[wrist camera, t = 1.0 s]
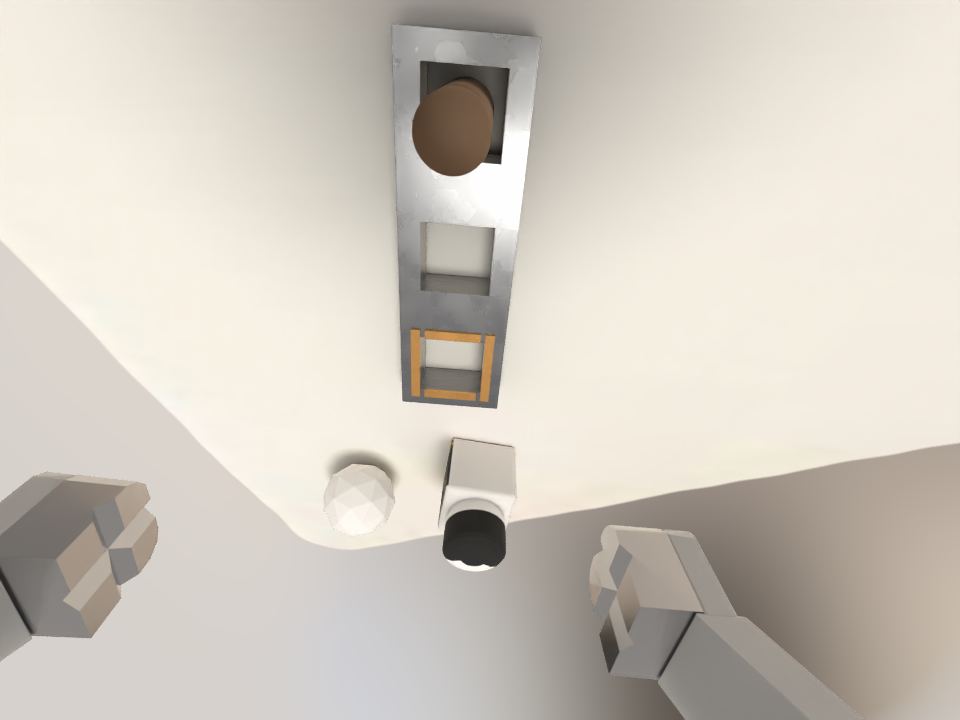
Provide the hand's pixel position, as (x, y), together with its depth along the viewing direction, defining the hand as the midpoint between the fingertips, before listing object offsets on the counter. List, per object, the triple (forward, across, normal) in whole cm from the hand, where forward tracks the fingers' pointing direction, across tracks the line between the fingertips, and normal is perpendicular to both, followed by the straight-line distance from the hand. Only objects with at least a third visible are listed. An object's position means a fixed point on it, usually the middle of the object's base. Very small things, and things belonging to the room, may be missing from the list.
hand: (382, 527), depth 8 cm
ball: (+36, +7, +32) cm, 49 cm away
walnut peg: (+31, 0, -7) cm, 32 cm away
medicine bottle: (+35, -6, +28) cm, 46 cm away
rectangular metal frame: (+32, -1, +3) cm, 33 cm away
